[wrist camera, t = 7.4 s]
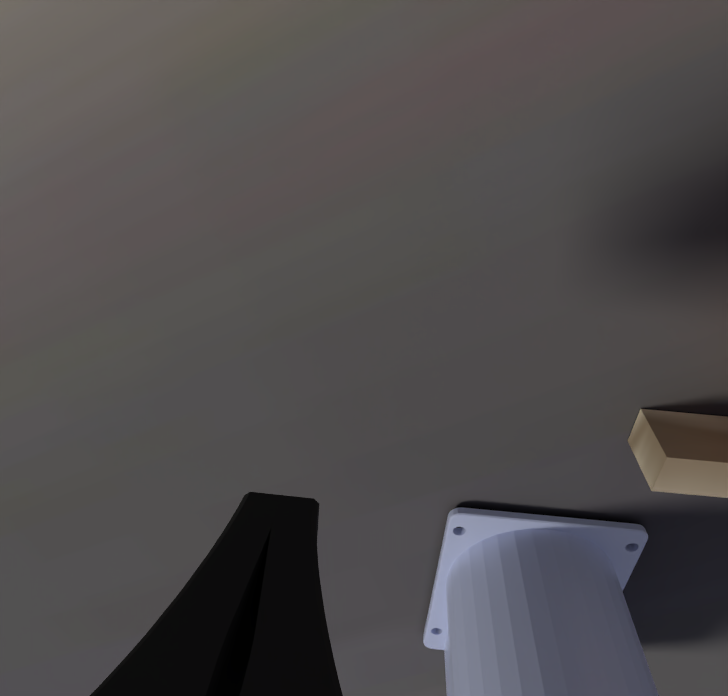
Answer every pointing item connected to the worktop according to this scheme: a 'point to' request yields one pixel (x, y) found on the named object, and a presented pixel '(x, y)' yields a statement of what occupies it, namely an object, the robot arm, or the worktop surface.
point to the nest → (682, 452)
